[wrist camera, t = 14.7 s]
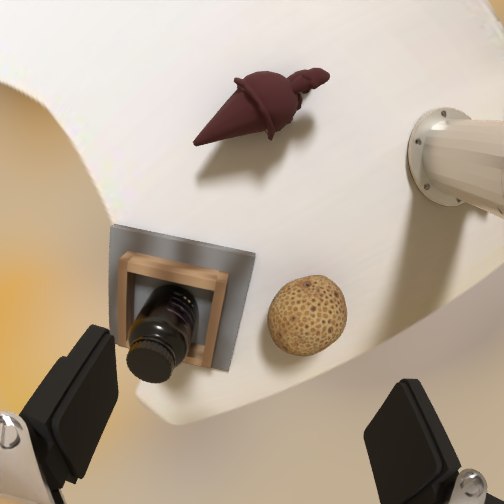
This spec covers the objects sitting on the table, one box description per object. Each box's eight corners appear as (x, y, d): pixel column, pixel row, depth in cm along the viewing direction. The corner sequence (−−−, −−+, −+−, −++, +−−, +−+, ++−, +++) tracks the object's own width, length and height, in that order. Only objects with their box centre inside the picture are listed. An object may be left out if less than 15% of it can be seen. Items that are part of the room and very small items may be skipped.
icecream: (216, 184, 29) (351, 106, 27) (171, 118, 25) (317, 39, 23) (211, 165, 34) (323, 101, 33) (175, 112, 31) (293, 46, 29)
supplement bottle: (174, 336, 41) (151, 399, 30) (139, 301, 39) (103, 358, 28) (211, 310, 39) (195, 374, 28) (174, 272, 38) (142, 327, 26)
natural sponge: (296, 246, 37) (308, 284, 28) (350, 283, 39) (374, 326, 30) (253, 302, 40) (251, 350, 31) (307, 333, 42) (318, 383, 32)
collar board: (255, 253, 38) (255, 267, 34) (229, 365, 44) (226, 385, 40) (114, 223, 37) (99, 234, 33) (113, 337, 43) (102, 354, 39)
